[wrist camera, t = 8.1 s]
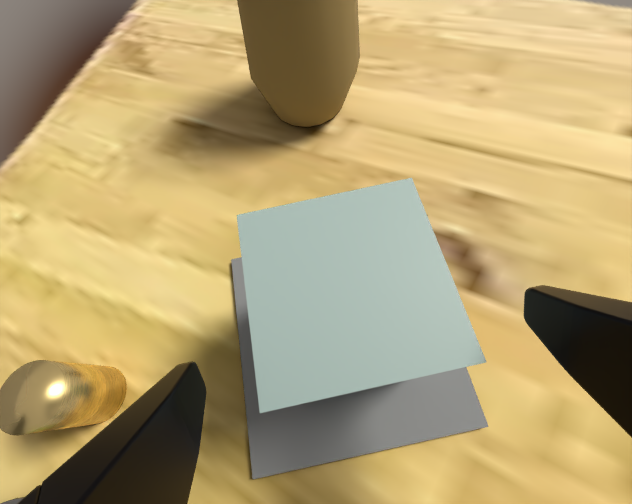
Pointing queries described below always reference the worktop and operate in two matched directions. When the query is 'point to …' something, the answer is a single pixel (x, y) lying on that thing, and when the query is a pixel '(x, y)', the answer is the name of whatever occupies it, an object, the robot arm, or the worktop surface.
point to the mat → (350, 413)
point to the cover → (349, 296)
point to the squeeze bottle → (302, 55)
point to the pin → (59, 396)
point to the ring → (13, 501)
